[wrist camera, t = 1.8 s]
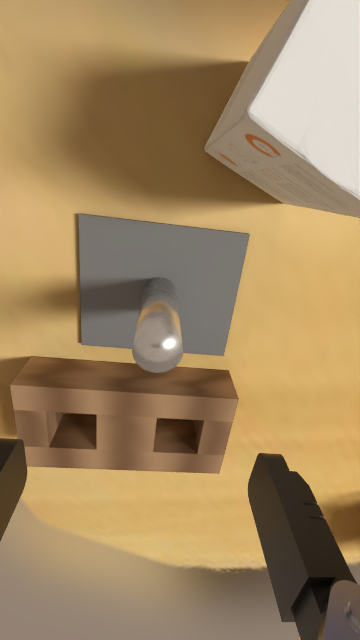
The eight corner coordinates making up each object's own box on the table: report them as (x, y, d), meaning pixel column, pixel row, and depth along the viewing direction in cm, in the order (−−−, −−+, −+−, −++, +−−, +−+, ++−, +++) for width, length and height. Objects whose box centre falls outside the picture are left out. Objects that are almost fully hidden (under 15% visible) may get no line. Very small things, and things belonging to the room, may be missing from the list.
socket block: (228, 370, 31) (238, 399, 27) (212, 439, 35) (219, 473, 31) (31, 356, 29) (9, 384, 25) (39, 431, 33) (22, 466, 29)
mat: (248, 233, 25) (249, 234, 25) (222, 353, 30) (223, 355, 30) (79, 213, 24) (78, 214, 23) (82, 342, 29) (81, 344, 28)
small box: (336, 126, 22) (533, 66, 10) (284, 205, 24) (397, 230, 13) (248, 56, 20) (368, -118, 8) (200, 150, 22) (241, 117, 11)
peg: (178, 279, 26) (186, 331, 17) (174, 310, 27) (179, 374, 18) (144, 275, 26) (133, 327, 17) (142, 307, 27) (131, 370, 18)
